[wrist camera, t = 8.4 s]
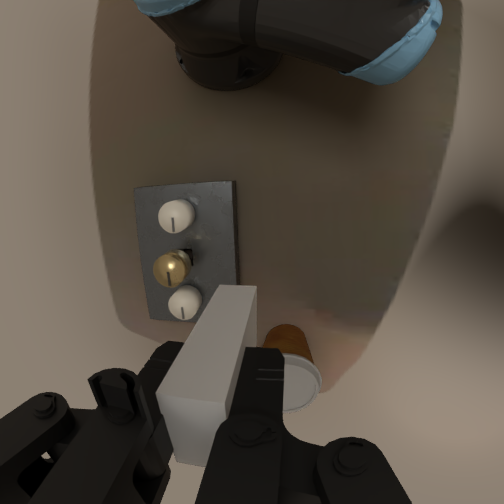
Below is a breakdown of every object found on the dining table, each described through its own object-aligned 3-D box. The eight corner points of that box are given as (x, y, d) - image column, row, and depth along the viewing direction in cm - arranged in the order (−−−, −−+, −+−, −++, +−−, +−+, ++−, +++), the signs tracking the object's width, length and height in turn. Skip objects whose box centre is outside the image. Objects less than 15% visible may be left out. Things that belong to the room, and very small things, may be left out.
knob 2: (181, 277, 44) (166, 292, 38) (206, 278, 43) (194, 294, 37) (183, 301, 45) (170, 319, 39) (208, 302, 44) (197, 321, 39)
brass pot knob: (169, 243, 39) (150, 255, 34) (197, 243, 39) (181, 255, 33) (172, 271, 40) (155, 287, 35) (199, 271, 40) (185, 288, 34)
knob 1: (174, 198, 41) (156, 202, 35) (200, 196, 40) (186, 200, 34) (176, 225, 42) (159, 233, 36) (202, 224, 41) (188, 233, 35)
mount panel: (143, 186, 41) (133, 188, 38) (235, 180, 39) (231, 181, 36) (157, 310, 46) (150, 318, 43) (241, 315, 44) (238, 324, 42)
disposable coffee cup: (252, 359, 46) (241, 409, 35) (260, 310, 44) (251, 355, 32) (308, 368, 46) (311, 418, 34) (322, 319, 43) (331, 366, 32)
